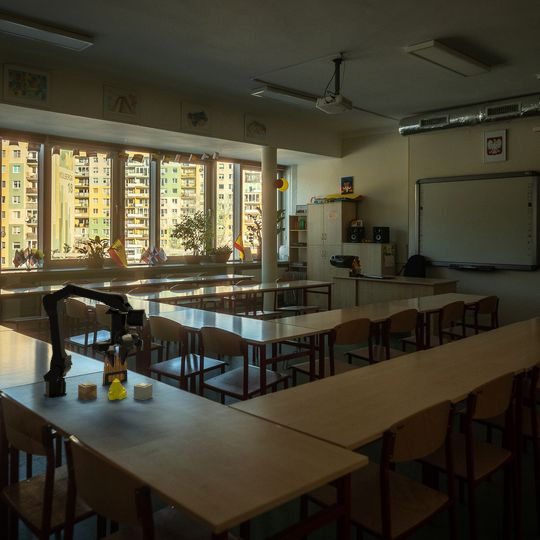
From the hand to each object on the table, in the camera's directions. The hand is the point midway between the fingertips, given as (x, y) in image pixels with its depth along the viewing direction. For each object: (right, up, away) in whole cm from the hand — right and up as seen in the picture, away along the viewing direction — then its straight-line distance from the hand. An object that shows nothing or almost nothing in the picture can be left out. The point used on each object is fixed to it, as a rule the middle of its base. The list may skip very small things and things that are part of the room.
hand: (117, 366), depth 203 cm
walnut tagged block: (-11, -12, -1) cm, 16 cm away
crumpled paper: (0, -12, +1) cm, 12 cm away
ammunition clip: (-7, -11, +20) cm, 24 cm away
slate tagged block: (+10, -12, +1) cm, 16 cm away
